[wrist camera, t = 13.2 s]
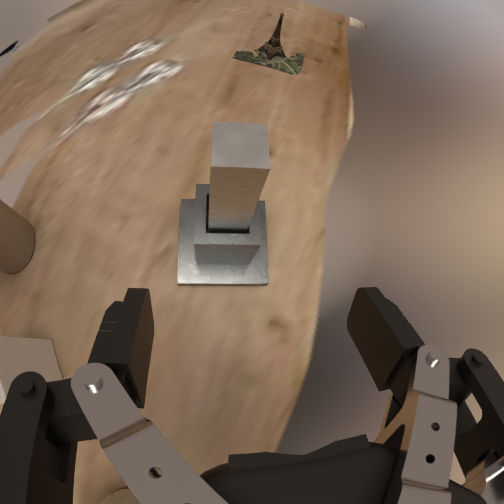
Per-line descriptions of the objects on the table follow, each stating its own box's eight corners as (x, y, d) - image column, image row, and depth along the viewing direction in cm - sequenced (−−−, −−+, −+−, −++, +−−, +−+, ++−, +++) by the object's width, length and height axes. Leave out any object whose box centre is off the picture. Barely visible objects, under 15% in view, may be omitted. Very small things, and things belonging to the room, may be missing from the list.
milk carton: (51, 338, 34) (-35, 331, 16) (66, 386, 33) (-16, 407, 14) (18, 348, 32) (-67, 343, 14) (31, 393, 31) (-50, 411, 13)
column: (208, 240, 34) (210, 166, 19) (208, 209, 35) (212, 121, 20) (242, 241, 35) (270, 168, 20) (242, 210, 36) (267, 124, 21)
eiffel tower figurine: (231, 60, 54) (238, 10, 41) (243, 39, 57) (251, -6, 44) (298, 78, 55) (316, 30, 42) (304, 55, 58) (320, 12, 45)
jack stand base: (178, 285, 39) (168, 267, 29) (181, 203, 42) (176, 165, 33) (266, 285, 41) (285, 268, 31) (263, 205, 44) (278, 168, 34)
